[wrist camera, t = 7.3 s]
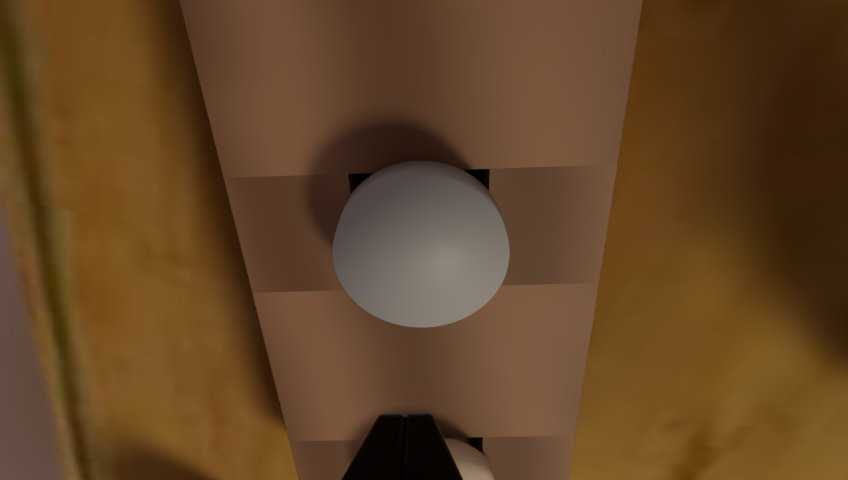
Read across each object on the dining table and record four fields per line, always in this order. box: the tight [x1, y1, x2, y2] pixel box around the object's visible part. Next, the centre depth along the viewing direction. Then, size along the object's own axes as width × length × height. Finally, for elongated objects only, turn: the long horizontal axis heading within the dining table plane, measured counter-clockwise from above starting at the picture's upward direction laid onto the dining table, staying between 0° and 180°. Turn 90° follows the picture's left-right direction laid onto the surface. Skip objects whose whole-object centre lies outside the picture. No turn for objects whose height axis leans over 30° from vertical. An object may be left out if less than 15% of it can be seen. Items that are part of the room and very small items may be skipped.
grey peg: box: [333, 161, 510, 328], centre depth 15 cm, size 4×4×6 cm
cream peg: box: [444, 438, 495, 480], centre depth 20 cm, size 4×4×6 cm
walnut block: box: [179, 0, 643, 480], centre depth 19 cm, size 10×22×5 cm, turn 2°
